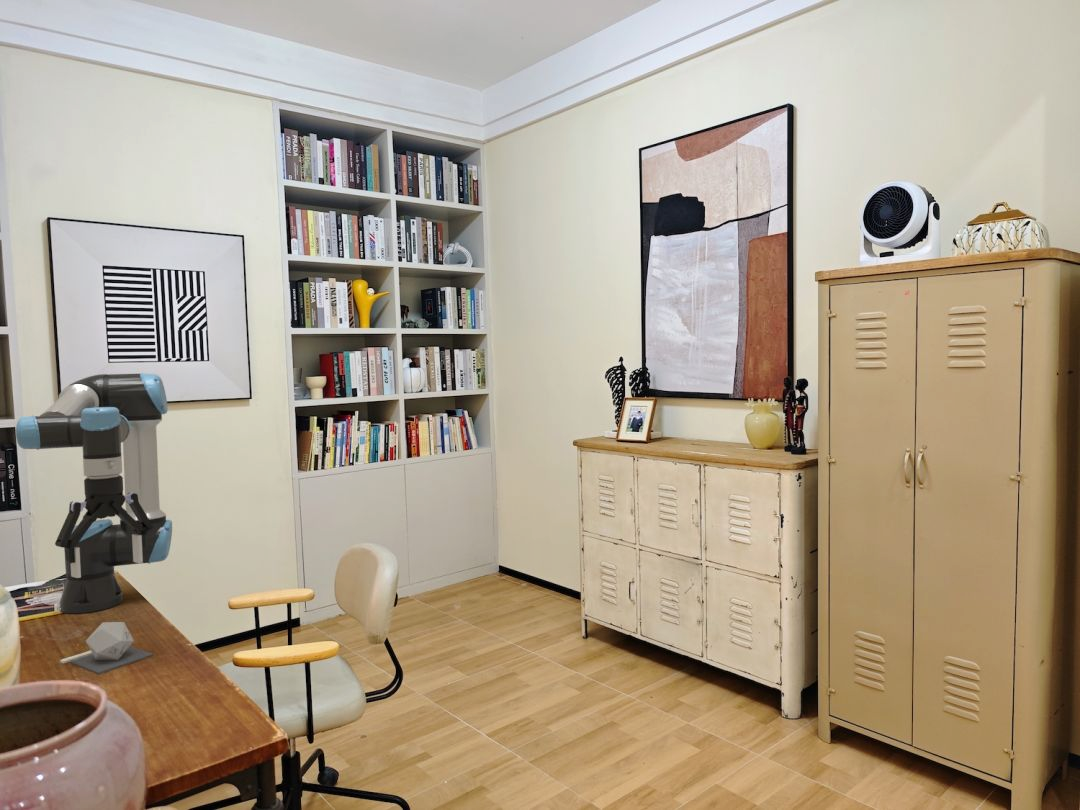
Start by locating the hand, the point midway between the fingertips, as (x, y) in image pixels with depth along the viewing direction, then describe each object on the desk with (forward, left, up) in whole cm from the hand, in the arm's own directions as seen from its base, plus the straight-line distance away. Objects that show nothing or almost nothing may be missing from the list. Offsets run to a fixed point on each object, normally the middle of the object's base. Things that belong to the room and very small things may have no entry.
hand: (108, 569), depth 169 cm
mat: (0, -1, -21) cm, 21 cm away
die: (0, 0, -20) cm, 20 cm away
